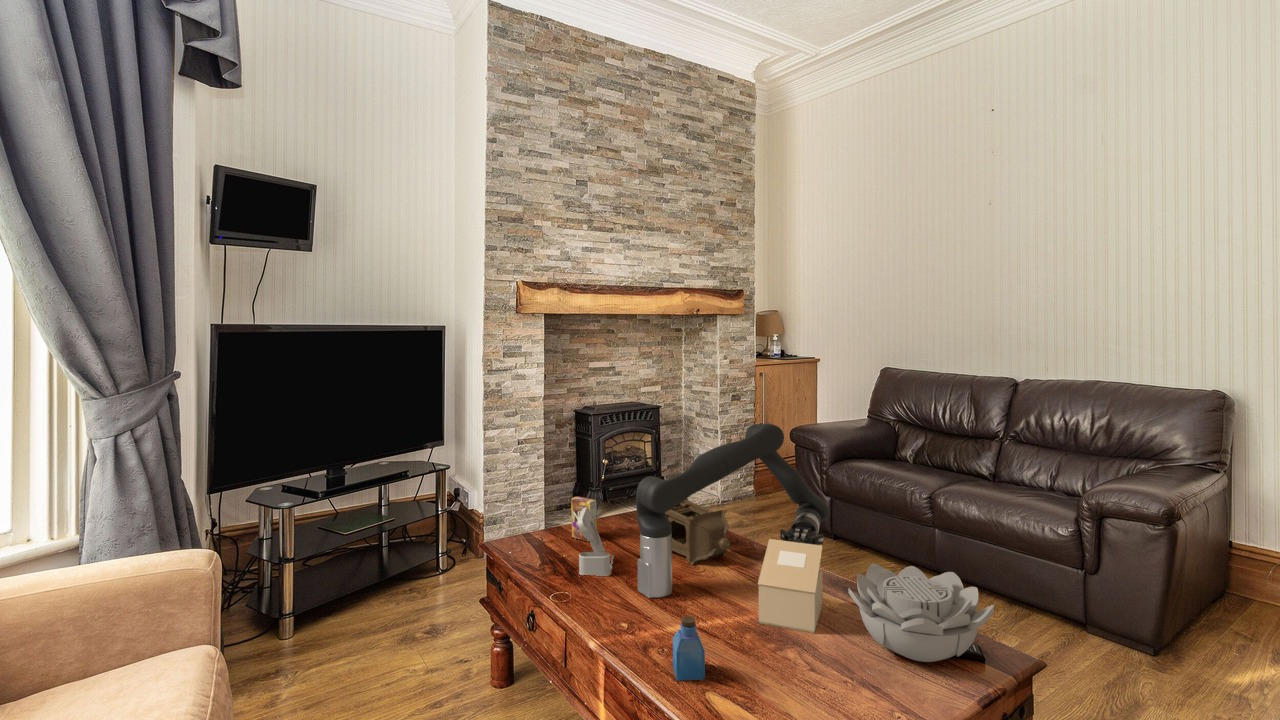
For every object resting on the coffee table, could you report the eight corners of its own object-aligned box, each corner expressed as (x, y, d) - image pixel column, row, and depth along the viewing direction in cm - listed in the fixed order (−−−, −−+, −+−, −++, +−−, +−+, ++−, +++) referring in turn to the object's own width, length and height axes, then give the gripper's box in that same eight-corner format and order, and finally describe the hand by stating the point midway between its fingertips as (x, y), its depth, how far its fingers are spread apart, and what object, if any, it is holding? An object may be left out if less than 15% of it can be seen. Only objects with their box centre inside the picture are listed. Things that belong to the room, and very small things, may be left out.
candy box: (571, 539, 222) (570, 498, 222) (578, 536, 226) (577, 495, 225) (590, 543, 218) (589, 501, 217) (597, 540, 221) (597, 499, 220)
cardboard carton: (770, 598, 172) (770, 563, 171) (822, 606, 166) (822, 570, 166) (758, 623, 157) (758, 585, 157) (814, 633, 152) (814, 594, 151)
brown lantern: (744, 571, 198) (751, 515, 198) (704, 578, 187) (711, 518, 188) (676, 540, 226) (682, 490, 226) (638, 543, 216) (644, 492, 216)
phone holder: (610, 577, 188) (609, 520, 187) (577, 577, 188) (576, 520, 187) (614, 556, 205) (613, 504, 204) (584, 556, 205) (583, 504, 204)
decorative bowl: (830, 618, 159) (830, 562, 159) (945, 619, 158) (946, 562, 158) (870, 686, 129) (871, 617, 128) (1013, 687, 128) (1014, 617, 127)
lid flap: (769, 540, 170) (769, 538, 170) (822, 547, 164) (822, 545, 164) (757, 585, 157) (757, 583, 156) (815, 594, 151) (815, 592, 151)
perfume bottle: (672, 665, 138) (672, 613, 138) (699, 663, 139) (699, 612, 138) (676, 680, 132) (676, 626, 131) (704, 679, 133) (704, 625, 132)
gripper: (783, 513, 188) (773, 530, 172) (828, 518, 183) (821, 536, 167) (783, 537, 188) (772, 556, 172) (828, 542, 183) (821, 562, 167)
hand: (796, 546), depth 170 cm, fingers closed
